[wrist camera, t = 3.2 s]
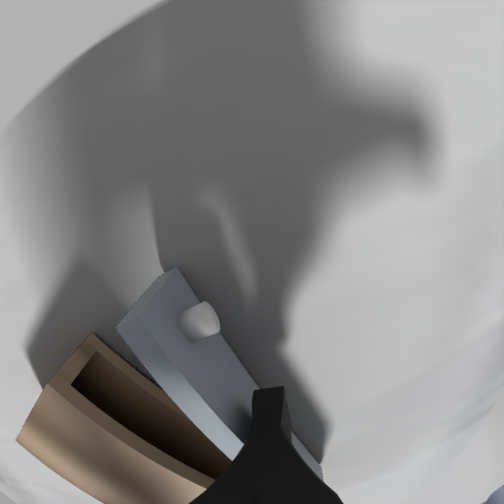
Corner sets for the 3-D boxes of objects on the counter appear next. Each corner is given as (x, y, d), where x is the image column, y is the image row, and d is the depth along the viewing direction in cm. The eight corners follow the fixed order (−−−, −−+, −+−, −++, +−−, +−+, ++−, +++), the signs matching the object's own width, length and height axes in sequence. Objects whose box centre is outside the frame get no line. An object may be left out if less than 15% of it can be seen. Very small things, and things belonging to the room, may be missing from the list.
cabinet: (226, 510, 19) (222, 552, 14) (45, 400, 16) (15, 440, 12) (311, 475, 17) (317, 526, 13) (91, 332, 14) (47, 383, 10)
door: (311, 475, 17) (317, 527, 12) (158, 276, 13) (115, 327, 8) (338, 466, 16) (348, 518, 12) (196, 255, 12) (165, 302, 8)
